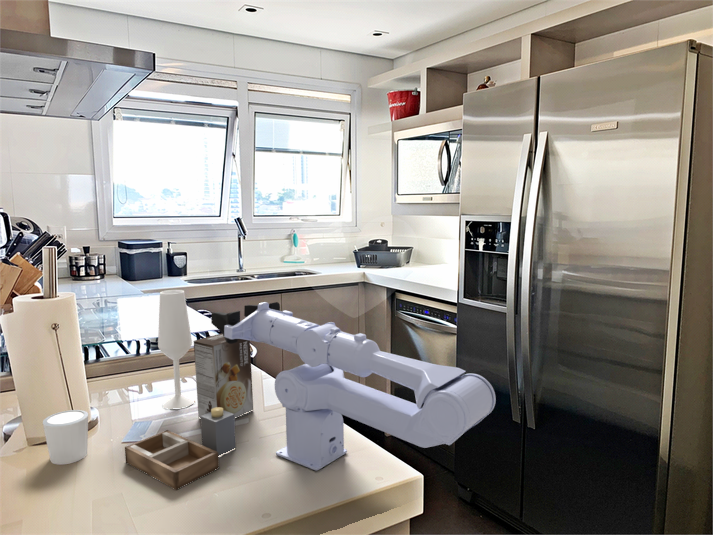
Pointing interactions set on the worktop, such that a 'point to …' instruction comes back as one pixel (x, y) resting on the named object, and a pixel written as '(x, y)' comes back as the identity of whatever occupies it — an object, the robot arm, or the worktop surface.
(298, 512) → the worktop surface
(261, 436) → the worktop surface
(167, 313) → the champagne flute
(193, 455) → the walnut box
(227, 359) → the coffee box
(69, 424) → the white cup
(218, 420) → the plug
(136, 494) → the worktop surface
